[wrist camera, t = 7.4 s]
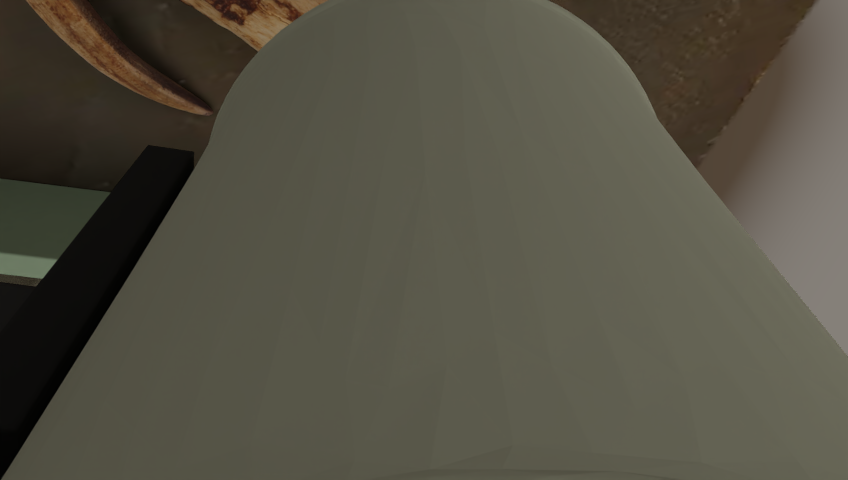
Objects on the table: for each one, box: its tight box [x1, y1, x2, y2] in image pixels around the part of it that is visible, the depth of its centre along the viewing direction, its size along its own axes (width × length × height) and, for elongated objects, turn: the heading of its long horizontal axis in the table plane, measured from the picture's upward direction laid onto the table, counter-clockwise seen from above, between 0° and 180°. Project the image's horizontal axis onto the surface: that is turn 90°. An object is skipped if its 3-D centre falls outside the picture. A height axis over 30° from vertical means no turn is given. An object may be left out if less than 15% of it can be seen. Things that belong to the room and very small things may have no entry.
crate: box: [0, 179, 111, 279], centre depth 35 cm, size 14×19×6 cm
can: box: [1, 0, 848, 480], centre depth 10 cm, size 9×9×12 cm
